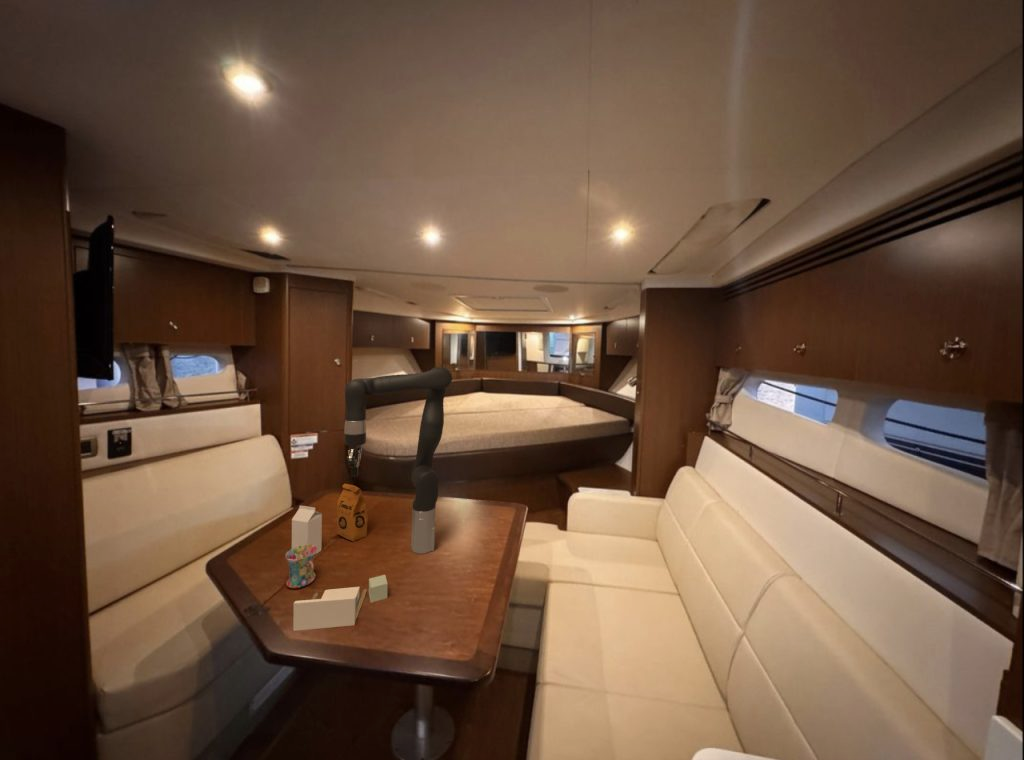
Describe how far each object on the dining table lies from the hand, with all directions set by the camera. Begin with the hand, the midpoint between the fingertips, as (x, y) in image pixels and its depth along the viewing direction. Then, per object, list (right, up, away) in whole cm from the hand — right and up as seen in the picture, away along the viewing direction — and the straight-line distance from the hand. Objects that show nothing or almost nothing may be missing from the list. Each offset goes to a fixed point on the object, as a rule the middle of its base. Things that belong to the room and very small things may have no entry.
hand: (354, 476), depth 127 cm
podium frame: (+5, -34, -25) cm, 42 cm away
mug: (-11, -33, -14) cm, 37 cm away
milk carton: (-20, -31, +2) cm, 37 cm away
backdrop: (+7, -34, -32) cm, 47 cm away
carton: (+7, -34, -26) cm, 43 cm away
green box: (+17, -34, -19) cm, 42 cm away
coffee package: (-9, -31, +17) cm, 37 cm away
